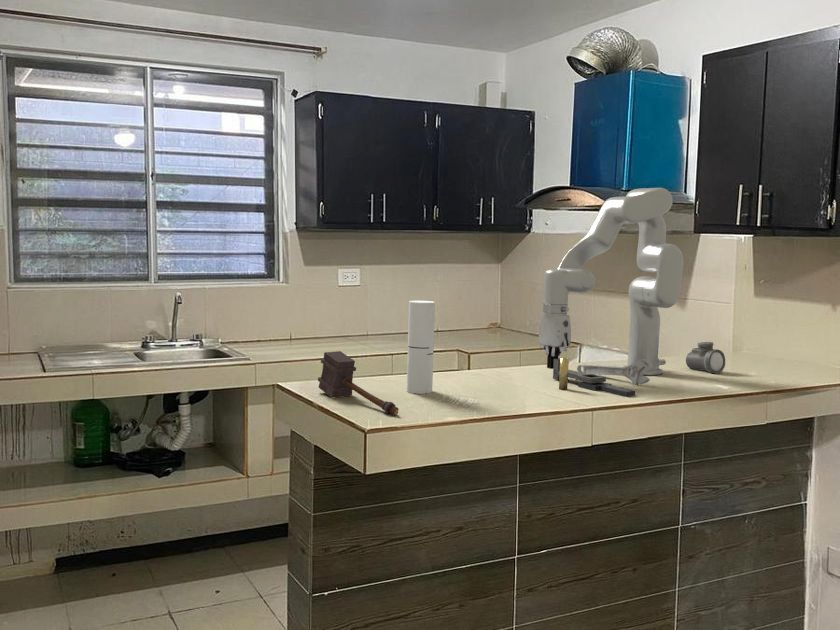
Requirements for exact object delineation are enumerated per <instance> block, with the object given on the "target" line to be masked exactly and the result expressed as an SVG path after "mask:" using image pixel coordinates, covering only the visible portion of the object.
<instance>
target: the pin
mask: <svg viewBox="0 0 840 630" xmlns="http://www.w3.org/2000/svg"><path fill="white" fill-rule="evenodd" d="M569 359H570V358H568V357H560V376H559V381H558V390H561V391H567V390H568V383H569V382H568V381H569V380H568V379H569V377H568V370H569V362H570V360H569Z"/></svg>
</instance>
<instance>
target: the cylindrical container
mask: <svg viewBox="0 0 840 630" xmlns="http://www.w3.org/2000/svg"><path fill="white" fill-rule="evenodd" d="M435 313H436V301H431V300H417V299H416V300H409V301H408V320H407V321H408V325H407V326H408V327H407V328H408V330H407V357H406V358H407V363H406V364H407V365H406V392H407V393H409V392H410V394H415V393H416V394H420V395H425V393H427V394H431V393H433V381H434V380H433V376H434V348H435V347H434V346H435V342H434V341H435Z"/></svg>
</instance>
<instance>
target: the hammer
mask: <svg viewBox="0 0 840 630" xmlns="http://www.w3.org/2000/svg"><path fill="white" fill-rule="evenodd" d="M320 363H321V364H322V369H321V370H322V371H321V375H320V376H318V377H317V381H318V382H319V383H318V388H319V389H320V390H321V391H322V392H324V393H325V394H326V395H327V396H329V397H330V396H331V397H335V398H340V397H339V396H344V397H350V395H352V396H353V391H354V392H356V394H359V395H360V396H361V397H363V398H365V399H366V400H368V401H370V402H371V403H372V404H375V405H376V406H377V407H379V408H381V409H382V410H383V411H384V412H385V414H386V415H388V414H387V413H391V414H390V415H392V416H393V415H394V416H397V415H398V414H399V407H397V406H396V404H395V403H394V402H393V401H387V400H386V401H384V400H383V399H381V398H379V397H377V396H375V395H373V394H372V393H369V392H368V391H367V390H365V389H363V388H361V387H360V386H358V385H357V384H356V383H354V382H353V378H354V377H353V376H354V372H356V371H357V367H356V366H355V363H356V361H355V360H354V359H352V358H351V357H350V356H348V355H347V354H345V353H344V352H342V351H340V350H337V351H326V352H324V353H323V358H320ZM331 397H330V398H331Z"/></svg>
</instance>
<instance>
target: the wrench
mask: <svg viewBox="0 0 840 630" xmlns="http://www.w3.org/2000/svg"><path fill="white" fill-rule="evenodd" d="M627 365H628V364H627ZM627 365H625V366H626V367H624V366H616V365H615V366H614V365H600V364H597V365H596V364H579V365H577V367H576V371H577V372H582V373H586V374H595V375H600V376H621V377H625V378H626V379H628V380H630V381H631V382H632V385H633V386H639V384H641V385H642V384H646V383H649V382H650V381H651V379H650V378H649V377H648V376H647V375H643V373H642V371H643V369H644V368H647V369H649V370H653V369H654V367H653V365H652V364H651V362H649V361H648V360H638V361H637V362H635V363H633V364H631V365H628V366H627ZM582 370H583V371H582Z"/></svg>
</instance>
